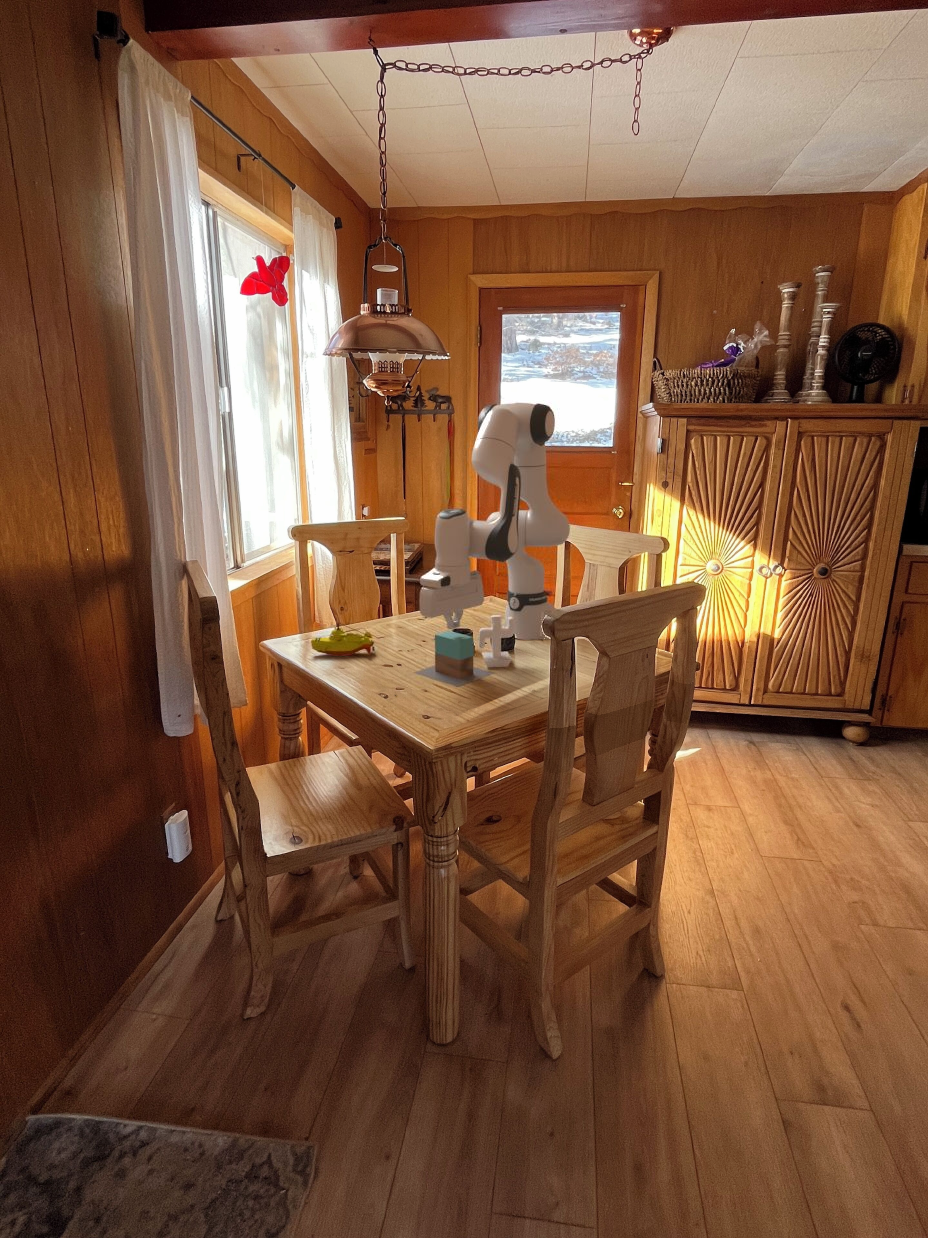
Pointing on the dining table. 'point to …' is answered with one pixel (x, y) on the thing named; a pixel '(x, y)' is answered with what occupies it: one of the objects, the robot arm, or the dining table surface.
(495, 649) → the figurine
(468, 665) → the walnut block
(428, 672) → the baseplate
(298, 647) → the dining table surface
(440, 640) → the teal block
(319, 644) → the toy boat
